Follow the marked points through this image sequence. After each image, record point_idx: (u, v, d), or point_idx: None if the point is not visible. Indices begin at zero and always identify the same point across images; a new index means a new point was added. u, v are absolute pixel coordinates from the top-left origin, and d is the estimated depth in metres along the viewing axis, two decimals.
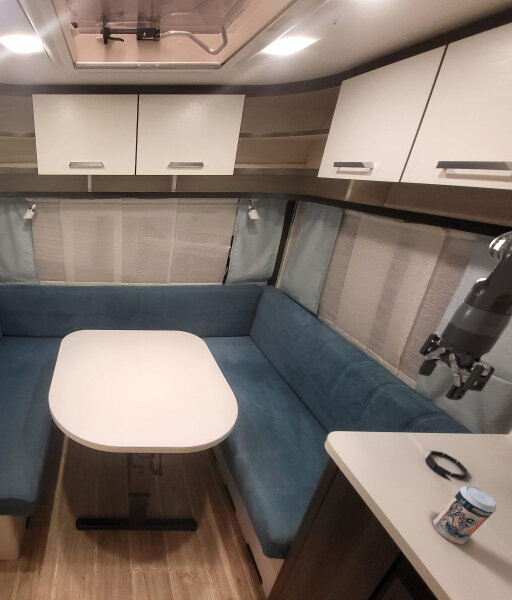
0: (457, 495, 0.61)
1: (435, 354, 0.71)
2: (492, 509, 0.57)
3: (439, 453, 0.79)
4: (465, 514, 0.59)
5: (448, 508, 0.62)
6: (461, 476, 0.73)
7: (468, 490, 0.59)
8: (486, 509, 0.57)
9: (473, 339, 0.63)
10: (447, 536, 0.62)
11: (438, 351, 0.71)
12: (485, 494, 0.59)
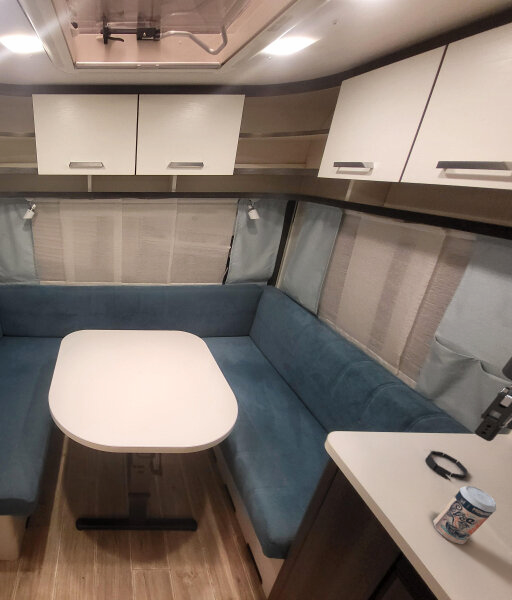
0: (457, 495, 0.61)
1: None
2: (492, 509, 0.57)
3: (439, 453, 0.79)
4: (465, 514, 0.59)
5: (448, 508, 0.62)
6: (461, 476, 0.73)
7: (468, 490, 0.59)
8: (486, 509, 0.57)
9: None
10: (447, 536, 0.62)
11: None
12: (485, 494, 0.59)
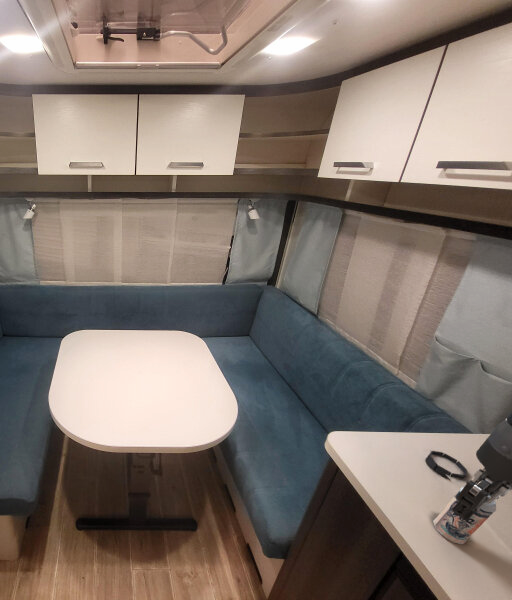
0: (457, 495, 0.61)
1: None
2: (492, 509, 0.57)
3: (439, 453, 0.79)
4: None
5: (448, 508, 0.62)
6: (461, 476, 0.73)
7: None
8: (486, 509, 0.57)
9: (490, 453, 0.54)
10: (447, 536, 0.62)
11: None
12: None
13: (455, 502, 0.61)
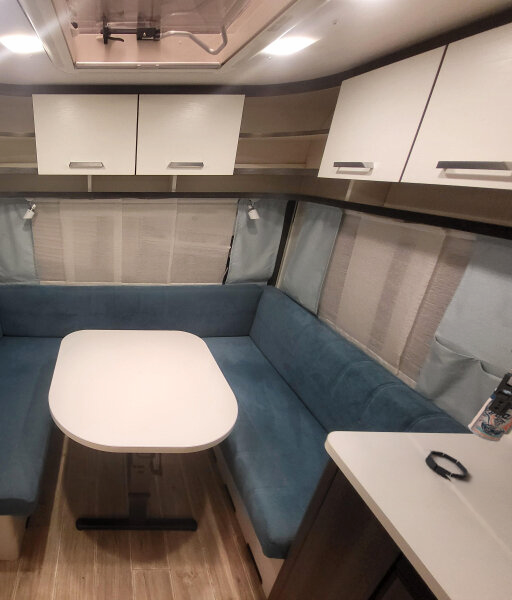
0: (492, 395, 0.65)
1: None
2: None
3: (439, 453, 0.79)
4: None
5: (483, 409, 0.66)
6: (461, 476, 0.73)
7: None
8: None
9: None
10: (483, 435, 0.66)
11: None
12: None
13: (490, 402, 0.65)
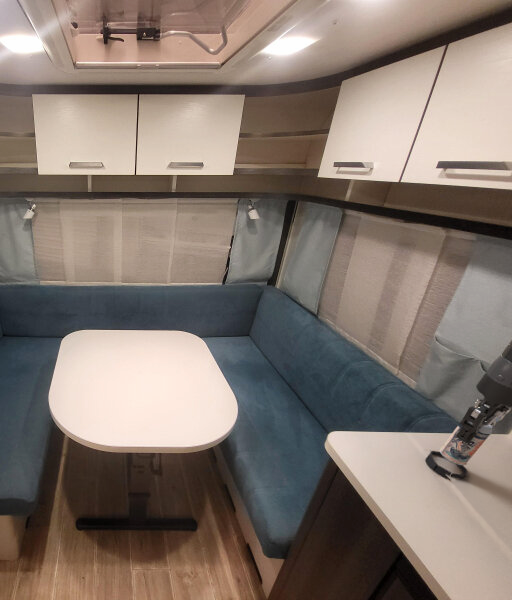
0: None
1: None
2: (489, 431, 0.69)
3: (439, 453, 0.79)
4: None
5: (452, 436, 0.74)
6: (461, 476, 0.73)
7: None
8: (484, 432, 0.69)
9: (487, 383, 0.66)
10: (451, 459, 0.74)
11: None
12: None
13: (458, 430, 0.72)
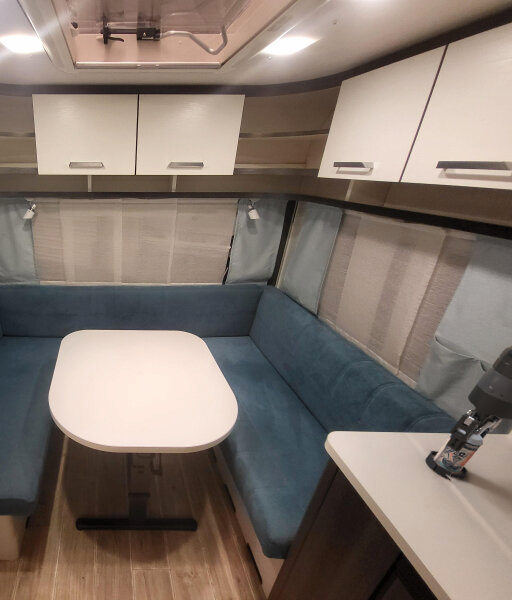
0: (451, 435, 0.74)
1: None
2: (479, 443, 0.70)
3: None
4: None
5: (444, 447, 0.75)
6: (461, 476, 0.73)
7: None
8: (474, 443, 0.70)
9: (478, 394, 0.68)
10: None
11: None
12: None
13: None
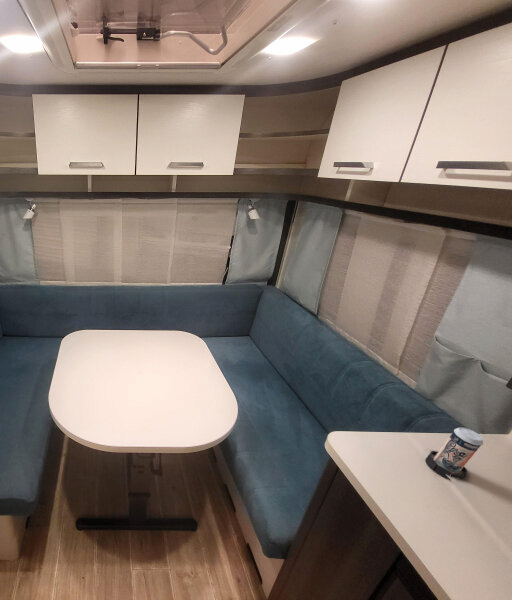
0: (451, 435, 0.74)
1: None
2: (479, 443, 0.70)
3: None
4: (458, 449, 0.72)
5: (444, 447, 0.75)
6: (461, 476, 0.73)
7: (460, 430, 0.73)
8: (474, 443, 0.70)
9: None
10: None
11: None
12: (474, 433, 0.72)
13: (450, 441, 0.74)
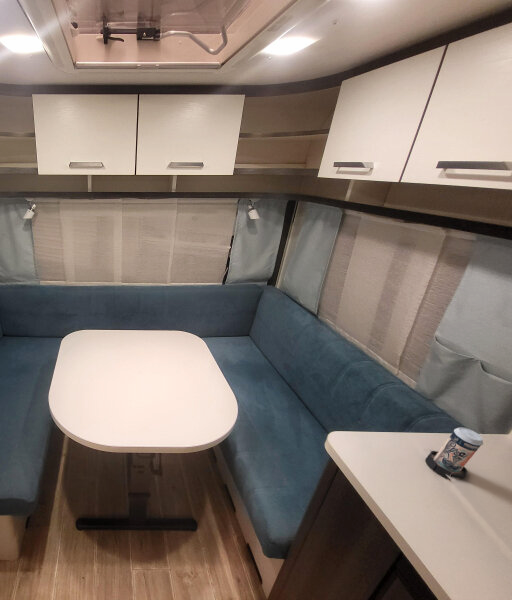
0: (451, 435, 0.74)
1: None
2: (479, 443, 0.70)
3: None
4: (458, 449, 0.72)
5: (444, 447, 0.75)
6: (461, 476, 0.73)
7: (460, 430, 0.73)
8: (474, 443, 0.70)
9: None
10: None
11: None
12: (474, 433, 0.72)
13: (450, 441, 0.74)
